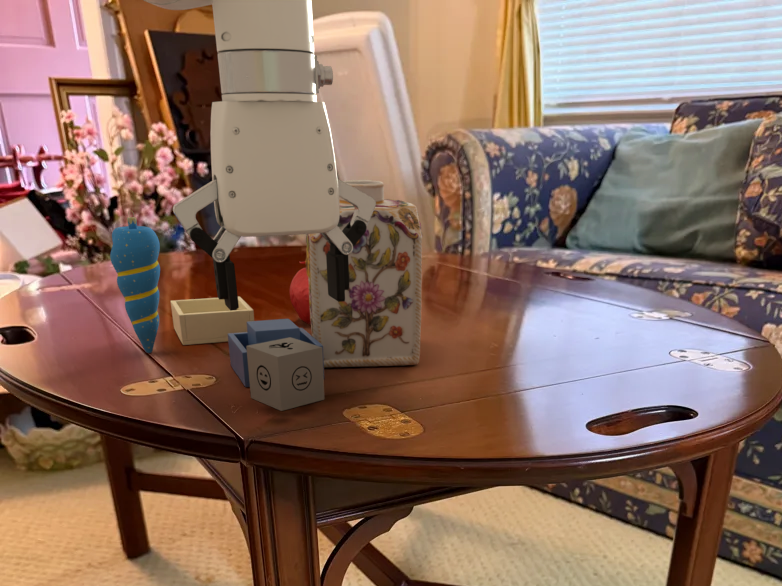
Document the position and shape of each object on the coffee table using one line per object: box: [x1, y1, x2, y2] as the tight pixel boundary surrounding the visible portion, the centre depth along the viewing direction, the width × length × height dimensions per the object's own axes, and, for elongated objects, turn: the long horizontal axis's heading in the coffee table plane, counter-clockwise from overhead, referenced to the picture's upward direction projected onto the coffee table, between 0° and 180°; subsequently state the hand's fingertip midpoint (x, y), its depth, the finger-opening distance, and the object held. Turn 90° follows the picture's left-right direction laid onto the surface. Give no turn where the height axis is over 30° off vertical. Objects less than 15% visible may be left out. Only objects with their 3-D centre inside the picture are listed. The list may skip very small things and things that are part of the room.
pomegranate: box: [289, 260, 311, 326], centre depth 99 cm, size 10×10×9 cm
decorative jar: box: [304, 179, 424, 369], centre depth 83 cm, size 12×12×18 cm
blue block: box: [247, 318, 300, 345], centre depth 79 cm, size 4×4×4 cm
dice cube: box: [246, 337, 325, 412], centre depth 72 cm, size 5×5×5 cm
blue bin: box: [227, 327, 325, 388], centre depth 80 cm, size 8×8×4 cm
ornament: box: [109, 210, 161, 354], centre depth 83 cm, size 5×5×15 cm
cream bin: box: [170, 295, 255, 346], centre depth 94 cm, size 9×9×4 cm
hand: (285, 303), depth 69 cm, fingers open, 9 cm apart
